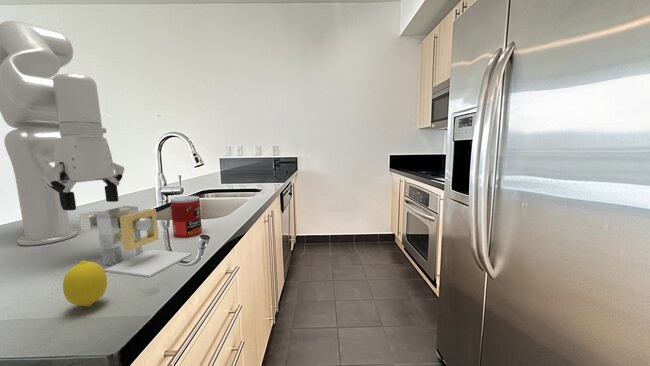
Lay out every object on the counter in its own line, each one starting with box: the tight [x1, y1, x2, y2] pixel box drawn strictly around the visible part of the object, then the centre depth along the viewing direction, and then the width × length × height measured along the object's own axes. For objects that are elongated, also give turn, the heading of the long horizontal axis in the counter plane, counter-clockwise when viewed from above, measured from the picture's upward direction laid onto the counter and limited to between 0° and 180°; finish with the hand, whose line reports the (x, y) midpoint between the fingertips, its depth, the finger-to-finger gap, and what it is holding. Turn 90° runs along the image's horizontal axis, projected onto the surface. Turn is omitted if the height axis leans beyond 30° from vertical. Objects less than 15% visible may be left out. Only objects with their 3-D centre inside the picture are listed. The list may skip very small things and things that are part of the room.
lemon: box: [62, 260, 108, 308], centre depth 47 cm, size 6×6×8 cm
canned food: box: [170, 195, 203, 239], centre depth 85 cm, size 8×8×11 cm
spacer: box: [120, 208, 160, 251], centre depth 65 cm, size 2×7×7 cm, turn 165°
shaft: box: [78, 210, 154, 232], centre depth 66 cm, size 18×4×4 cm, turn 75°
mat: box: [103, 249, 192, 278], centre depth 65 cm, size 12×12×1 cm
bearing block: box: [96, 205, 144, 267], centre depth 66 cm, size 4×7×12 cm, turn 165°
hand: (92, 205), depth 67 cm, fingers open, 9 cm apart
